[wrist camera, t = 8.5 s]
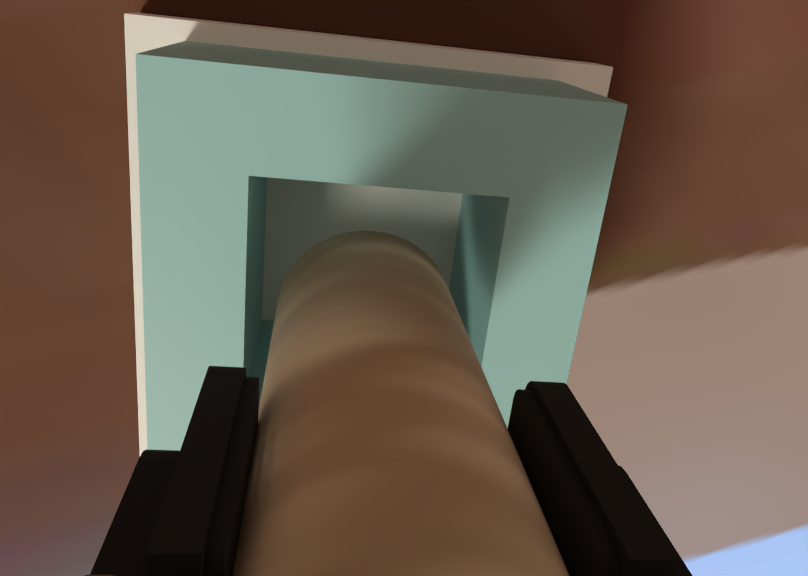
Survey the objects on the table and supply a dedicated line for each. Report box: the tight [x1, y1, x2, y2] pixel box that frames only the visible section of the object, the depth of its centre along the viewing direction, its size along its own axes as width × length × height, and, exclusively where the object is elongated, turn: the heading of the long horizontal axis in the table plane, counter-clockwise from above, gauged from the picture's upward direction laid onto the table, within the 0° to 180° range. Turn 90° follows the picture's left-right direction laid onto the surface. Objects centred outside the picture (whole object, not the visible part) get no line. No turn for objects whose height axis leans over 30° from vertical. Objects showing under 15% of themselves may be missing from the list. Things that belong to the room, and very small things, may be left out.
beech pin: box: [232, 231, 570, 576], centre depth 11 cm, size 4×4×11 cm
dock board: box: [124, 13, 628, 456], centre depth 22 cm, size 13×25×6 cm, turn 174°
